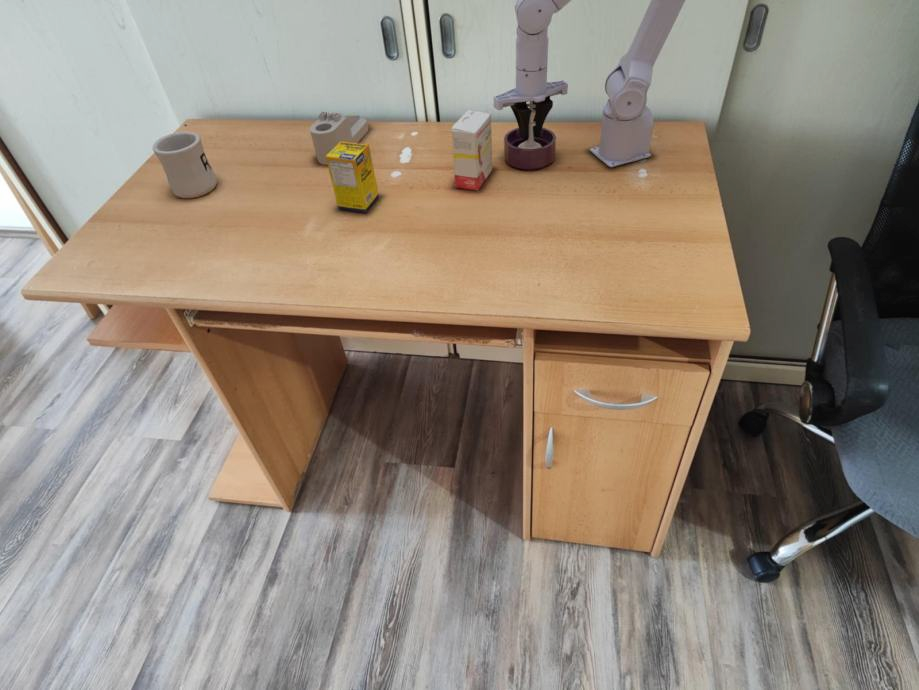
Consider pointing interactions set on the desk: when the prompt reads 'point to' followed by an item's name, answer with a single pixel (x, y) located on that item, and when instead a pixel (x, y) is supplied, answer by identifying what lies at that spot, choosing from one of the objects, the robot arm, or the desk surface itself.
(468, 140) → the ink box
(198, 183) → the mug
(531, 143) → the chess piece
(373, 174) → the supplement box
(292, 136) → the desk surface
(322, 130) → the angled bracket with hole
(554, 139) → the bowl
